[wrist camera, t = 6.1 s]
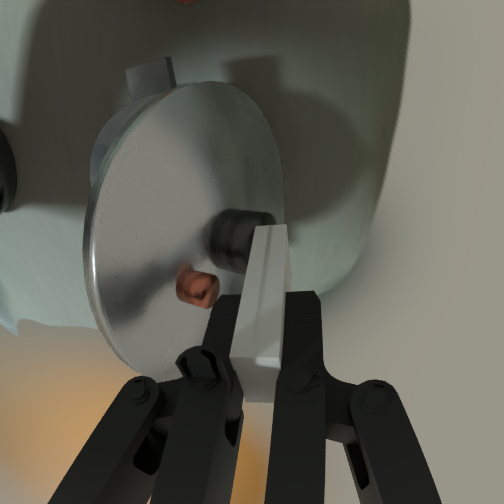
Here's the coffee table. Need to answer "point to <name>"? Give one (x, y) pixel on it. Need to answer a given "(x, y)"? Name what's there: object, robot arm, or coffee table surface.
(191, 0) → the mug
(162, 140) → the lid
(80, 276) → the coffee table surface
